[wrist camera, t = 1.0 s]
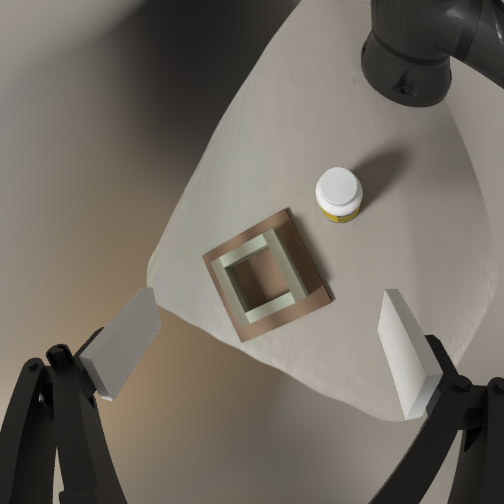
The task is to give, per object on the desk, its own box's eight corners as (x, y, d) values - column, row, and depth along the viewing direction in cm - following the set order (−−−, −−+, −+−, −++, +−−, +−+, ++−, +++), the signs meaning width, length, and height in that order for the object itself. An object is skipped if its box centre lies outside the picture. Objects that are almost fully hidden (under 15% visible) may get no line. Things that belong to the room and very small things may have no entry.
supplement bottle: (338, 232, 37) (335, 222, 28) (312, 202, 38) (301, 182, 29) (368, 206, 36) (374, 188, 27) (341, 177, 37) (339, 150, 28)
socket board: (285, 209, 39) (279, 204, 36) (331, 301, 37) (330, 305, 34) (203, 256, 43) (191, 255, 40) (243, 341, 41) (233, 348, 37)
